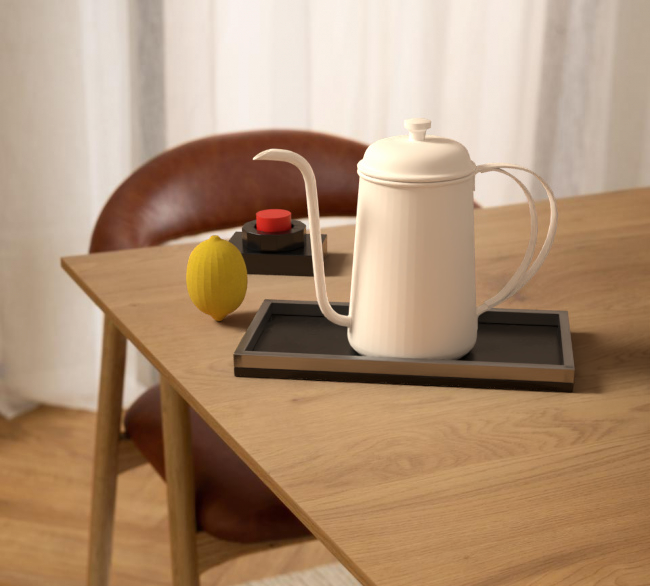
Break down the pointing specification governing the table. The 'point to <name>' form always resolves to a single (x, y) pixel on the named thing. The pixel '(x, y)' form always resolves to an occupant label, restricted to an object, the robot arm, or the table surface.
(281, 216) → the button
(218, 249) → the lemon
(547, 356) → the drip pan
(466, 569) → the table surface
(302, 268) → the button box
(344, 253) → the table surface
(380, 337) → the coffeepot
